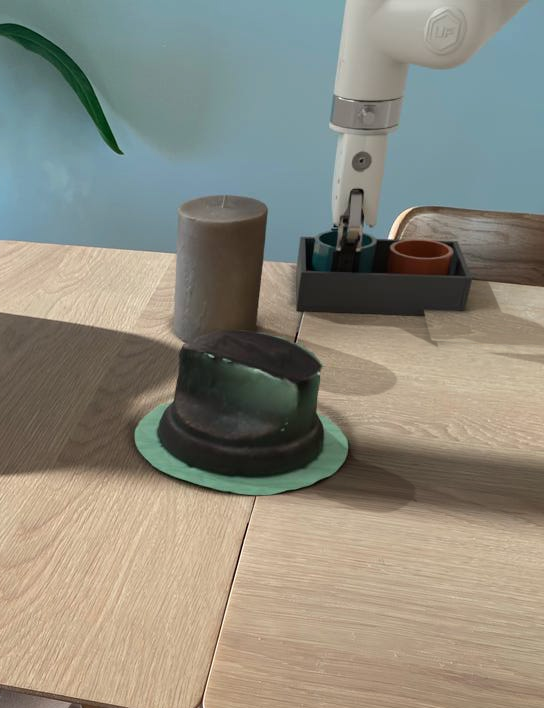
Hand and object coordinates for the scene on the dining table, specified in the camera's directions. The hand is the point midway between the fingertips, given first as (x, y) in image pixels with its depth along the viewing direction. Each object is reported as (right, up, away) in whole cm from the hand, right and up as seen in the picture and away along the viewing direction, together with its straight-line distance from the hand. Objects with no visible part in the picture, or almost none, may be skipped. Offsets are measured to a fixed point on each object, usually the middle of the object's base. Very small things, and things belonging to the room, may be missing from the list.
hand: (340, 272), depth 120 cm
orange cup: (+9, -2, 0) cm, 9 cm away
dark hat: (-17, -26, -27) cm, 41 cm away
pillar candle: (-17, -10, -7) cm, 20 cm away
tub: (+5, -2, +1) cm, 5 cm away
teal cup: (0, -1, +1) cm, 1 cm away
